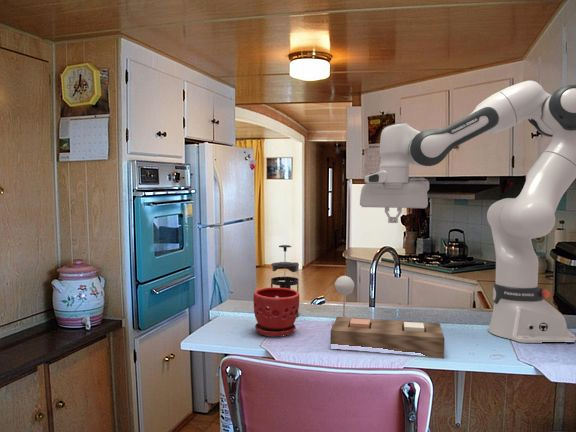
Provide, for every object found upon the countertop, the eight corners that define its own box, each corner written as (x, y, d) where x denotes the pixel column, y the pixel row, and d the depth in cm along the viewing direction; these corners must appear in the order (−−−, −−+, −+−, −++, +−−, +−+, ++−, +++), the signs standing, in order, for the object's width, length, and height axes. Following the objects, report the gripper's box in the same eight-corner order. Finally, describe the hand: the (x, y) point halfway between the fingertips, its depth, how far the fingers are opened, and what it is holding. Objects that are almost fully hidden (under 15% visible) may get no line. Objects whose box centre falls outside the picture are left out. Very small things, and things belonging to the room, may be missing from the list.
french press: (296, 320, 156) (297, 247, 154) (267, 319, 157) (267, 246, 156) (301, 311, 167) (302, 243, 166) (274, 310, 169) (274, 242, 167)
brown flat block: (439, 341, 136) (439, 323, 135) (443, 358, 122) (444, 338, 122) (336, 333, 141) (336, 316, 141) (330, 349, 128) (330, 330, 128)
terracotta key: (369, 332, 135) (370, 319, 135) (368, 337, 130) (369, 324, 130) (351, 330, 136) (351, 318, 136) (349, 336, 131) (349, 323, 131)
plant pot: (245, 336, 138) (246, 294, 138) (264, 324, 151) (264, 285, 150) (290, 342, 134) (290, 298, 133) (305, 329, 146) (305, 288, 145)
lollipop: (340, 328, 147) (341, 278, 146) (330, 323, 152) (330, 275, 151) (357, 326, 150) (358, 276, 149) (346, 321, 155) (347, 273, 154)
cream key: (423, 336, 132) (423, 323, 132) (424, 341, 127) (424, 328, 127) (403, 334, 133) (404, 321, 133) (404, 340, 128) (404, 326, 128)
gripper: (428, 177, 151) (427, 223, 152) (361, 177, 156) (360, 221, 156) (430, 177, 145) (429, 224, 146) (359, 176, 150) (358, 222, 150)
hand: (392, 222), depth 151 cm, fingers closed
